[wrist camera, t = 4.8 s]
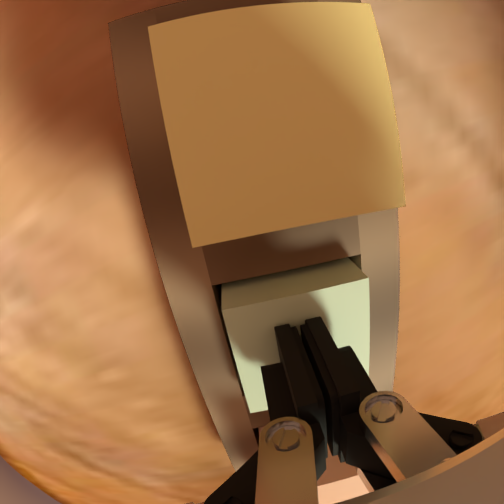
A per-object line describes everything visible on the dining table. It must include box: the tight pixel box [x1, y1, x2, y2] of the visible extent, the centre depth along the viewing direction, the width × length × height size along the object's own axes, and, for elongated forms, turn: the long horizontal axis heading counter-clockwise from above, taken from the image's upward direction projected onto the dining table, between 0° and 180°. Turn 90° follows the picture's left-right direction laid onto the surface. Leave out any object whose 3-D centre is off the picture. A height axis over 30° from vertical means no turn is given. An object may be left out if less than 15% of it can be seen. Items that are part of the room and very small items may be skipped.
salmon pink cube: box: [258, 426, 369, 504], centre depth 14 cm, size 5×5×5 cm
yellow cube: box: [148, 2, 406, 248], centre depth 9 cm, size 5×5×5 cm
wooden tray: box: [108, 0, 400, 471], centre depth 14 cm, size 26×9×4 cm, turn 11°
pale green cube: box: [222, 257, 370, 413], centre depth 14 cm, size 5×5×5 cm
